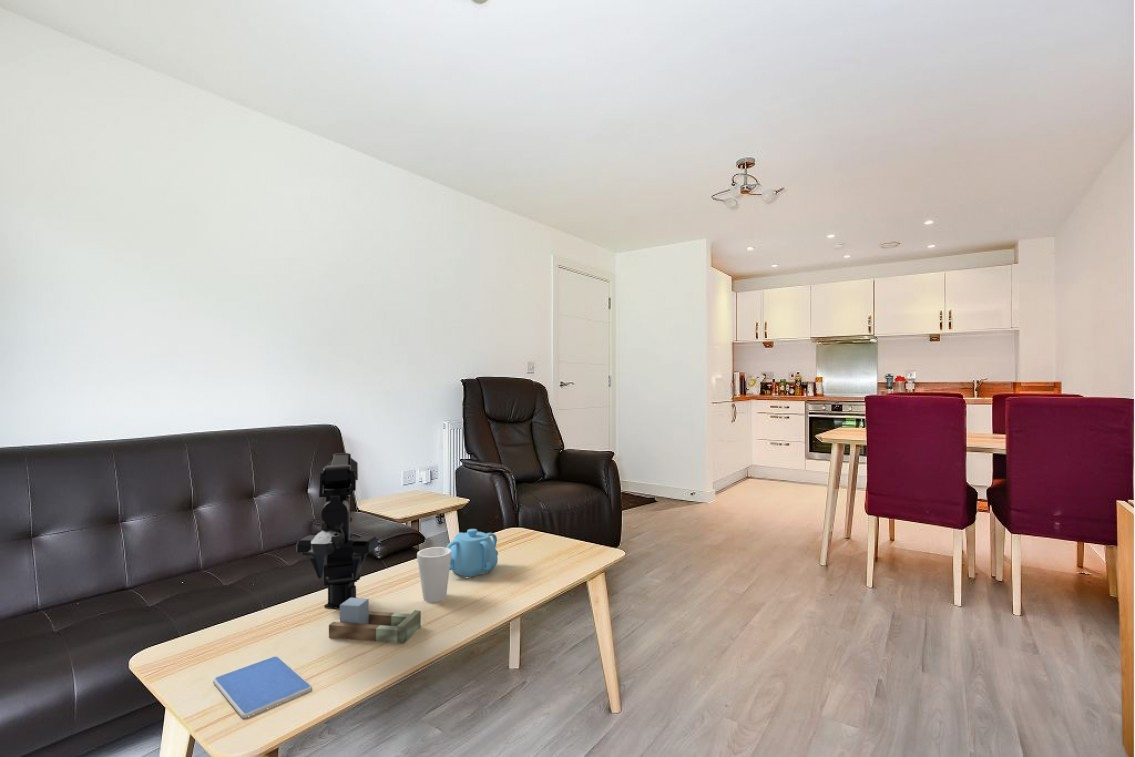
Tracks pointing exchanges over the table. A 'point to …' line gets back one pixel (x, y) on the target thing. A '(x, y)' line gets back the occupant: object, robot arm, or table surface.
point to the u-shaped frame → (379, 627)
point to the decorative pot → (473, 553)
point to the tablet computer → (261, 686)
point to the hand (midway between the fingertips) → (337, 578)
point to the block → (355, 611)
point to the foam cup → (434, 572)
